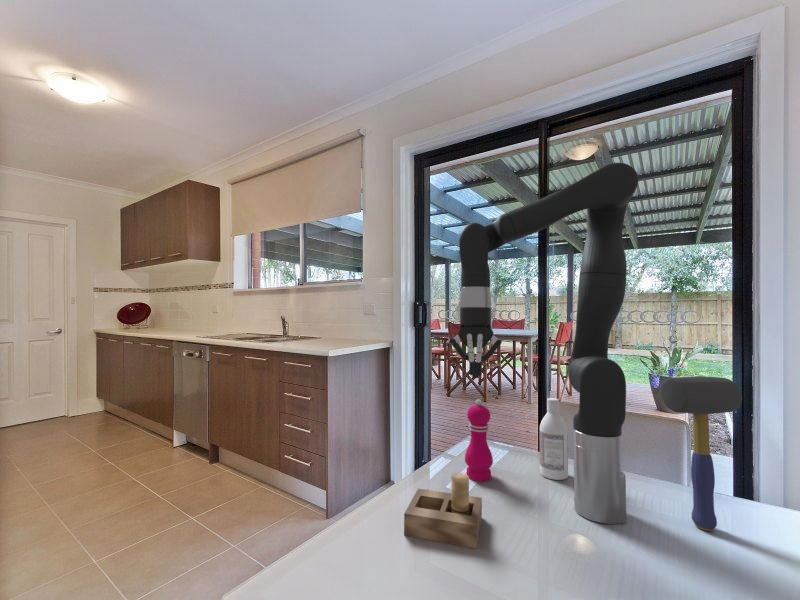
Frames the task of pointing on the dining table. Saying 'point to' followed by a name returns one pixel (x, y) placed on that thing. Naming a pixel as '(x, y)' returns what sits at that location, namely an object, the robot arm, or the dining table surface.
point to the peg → (460, 494)
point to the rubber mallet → (701, 432)
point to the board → (442, 519)
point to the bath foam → (553, 443)
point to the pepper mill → (478, 443)
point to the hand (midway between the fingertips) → (475, 377)
